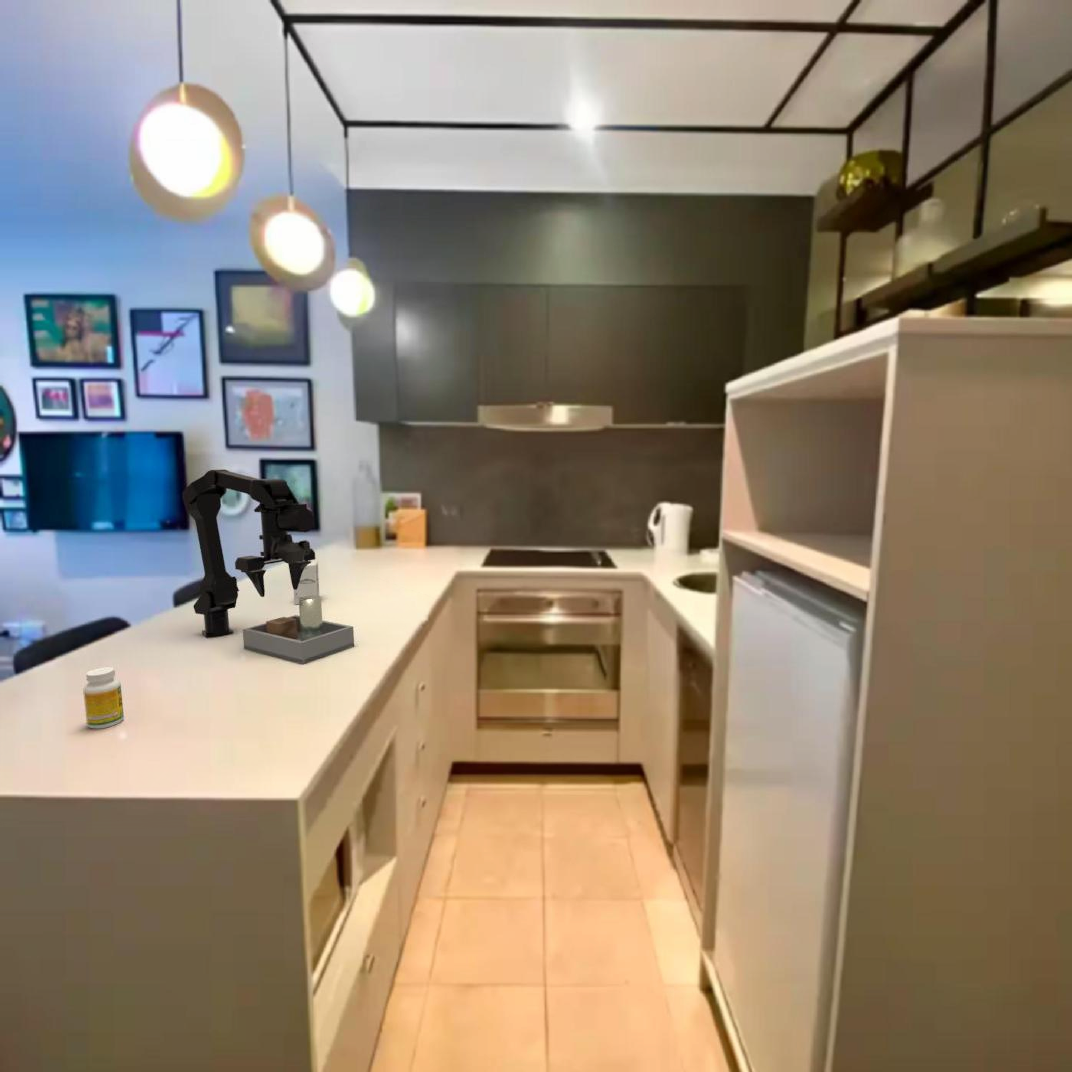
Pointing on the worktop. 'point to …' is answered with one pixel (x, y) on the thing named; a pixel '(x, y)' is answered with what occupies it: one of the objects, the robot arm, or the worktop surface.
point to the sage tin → (310, 617)
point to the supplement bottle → (103, 698)
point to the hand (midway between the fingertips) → (279, 593)
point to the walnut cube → (282, 627)
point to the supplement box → (308, 583)
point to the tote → (299, 642)
